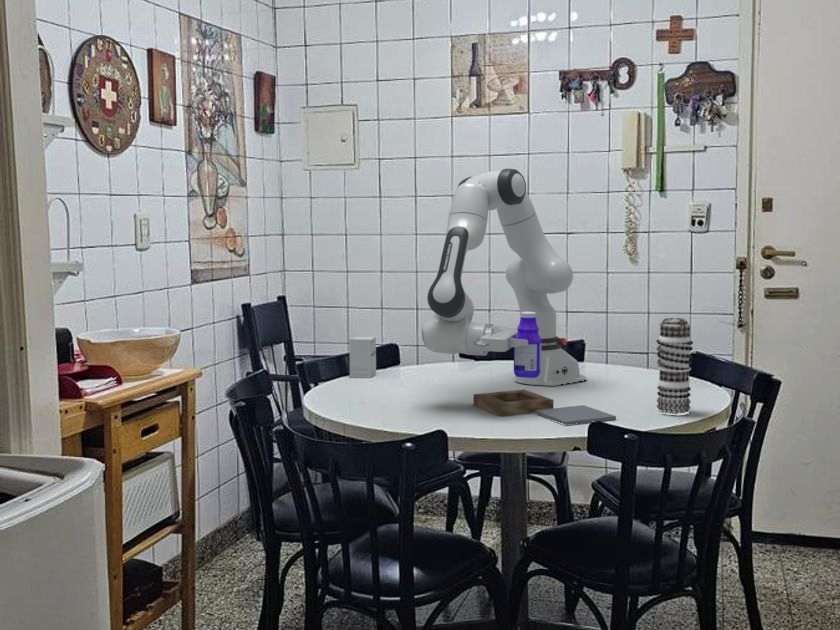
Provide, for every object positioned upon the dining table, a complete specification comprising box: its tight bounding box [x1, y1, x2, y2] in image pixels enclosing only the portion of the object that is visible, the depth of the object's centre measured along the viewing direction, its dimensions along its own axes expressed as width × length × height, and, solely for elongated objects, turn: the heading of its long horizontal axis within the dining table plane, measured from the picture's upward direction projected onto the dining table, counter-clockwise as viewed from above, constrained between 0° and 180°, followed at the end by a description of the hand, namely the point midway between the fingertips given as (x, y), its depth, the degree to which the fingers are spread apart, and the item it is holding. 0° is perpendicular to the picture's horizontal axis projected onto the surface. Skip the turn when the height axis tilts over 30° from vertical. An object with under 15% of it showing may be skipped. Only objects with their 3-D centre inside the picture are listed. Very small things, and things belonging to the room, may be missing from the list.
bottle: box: [513, 312, 541, 378], centre depth 252 cm, size 7×6×17 cm
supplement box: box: [348, 336, 377, 379], centre depth 308 cm, size 7×7×13 cm
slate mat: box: [534, 404, 617, 426], centre depth 245 cm, size 15×15×1 cm
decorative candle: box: [656, 317, 694, 414], centre depth 248 cm, size 9×9×25 cm
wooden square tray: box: [472, 389, 555, 417], centre depth 257 cm, size 16×16×3 cm
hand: (531, 340), depth 252 cm, fingers closed on bottle, 6 cm apart
